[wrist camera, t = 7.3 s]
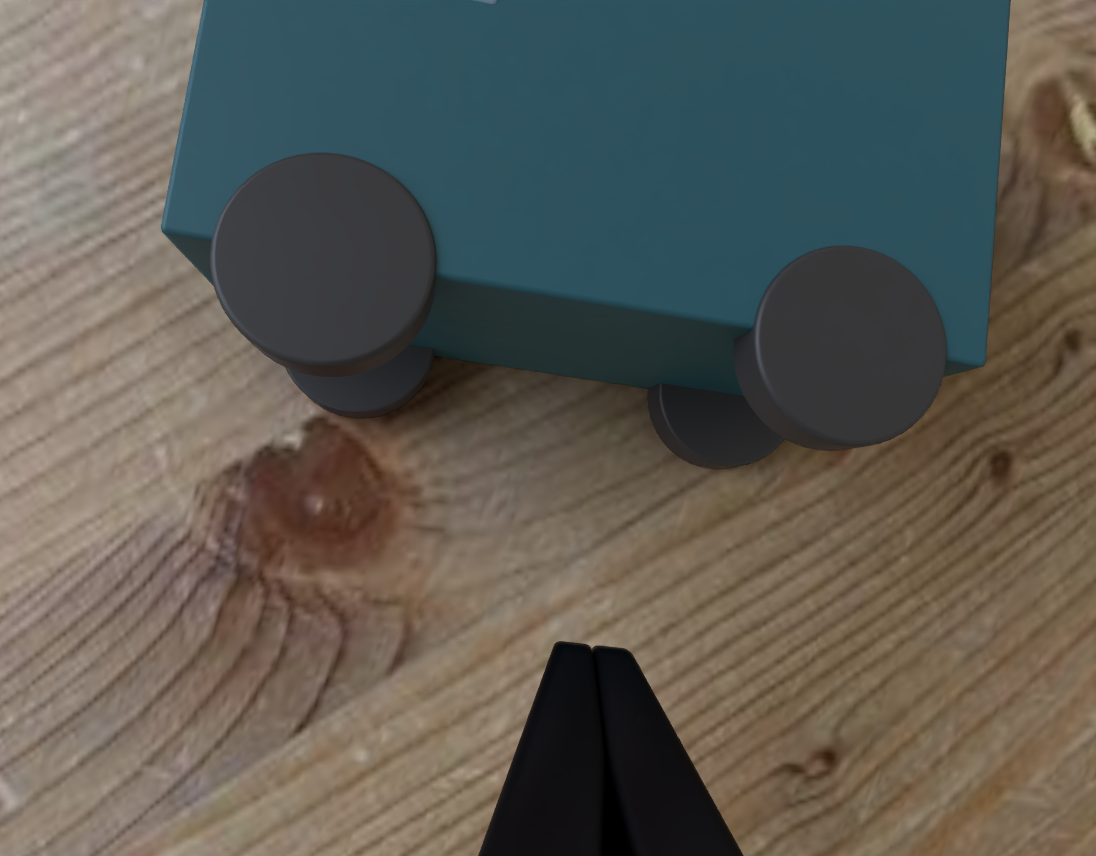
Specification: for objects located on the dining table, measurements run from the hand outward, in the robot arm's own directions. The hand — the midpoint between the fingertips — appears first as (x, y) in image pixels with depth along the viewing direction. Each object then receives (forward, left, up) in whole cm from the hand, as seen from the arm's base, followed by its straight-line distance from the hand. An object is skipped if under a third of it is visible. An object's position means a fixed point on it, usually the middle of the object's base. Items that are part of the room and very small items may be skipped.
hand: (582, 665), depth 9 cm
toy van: (+3, -2, -5) cm, 6 cm away
